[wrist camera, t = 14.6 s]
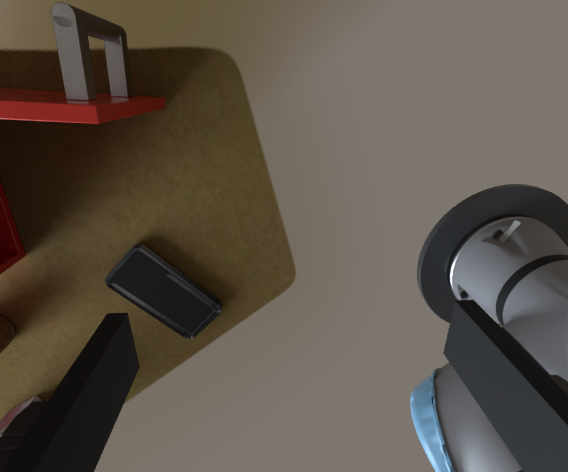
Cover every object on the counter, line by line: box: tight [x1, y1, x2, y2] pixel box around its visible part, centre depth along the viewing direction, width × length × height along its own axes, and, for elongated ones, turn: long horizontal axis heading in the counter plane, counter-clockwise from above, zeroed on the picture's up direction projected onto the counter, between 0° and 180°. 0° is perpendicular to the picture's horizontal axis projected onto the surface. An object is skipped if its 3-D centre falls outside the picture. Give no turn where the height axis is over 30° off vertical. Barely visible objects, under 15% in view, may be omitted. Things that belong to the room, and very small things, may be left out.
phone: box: [105, 244, 222, 339], centre depth 49 cm, size 8×1×15 cm
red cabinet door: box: [0, 2, 165, 124], centre depth 29 cm, size 8×20×18 cm, turn 87°
